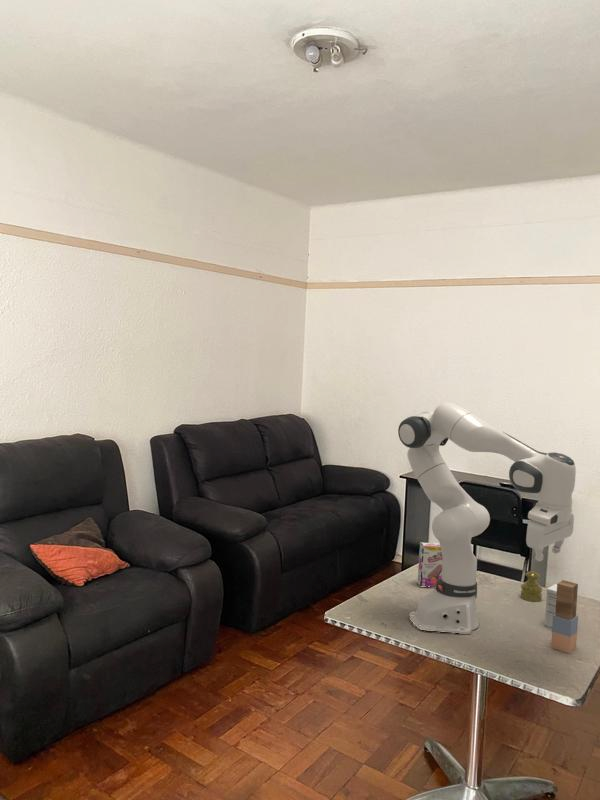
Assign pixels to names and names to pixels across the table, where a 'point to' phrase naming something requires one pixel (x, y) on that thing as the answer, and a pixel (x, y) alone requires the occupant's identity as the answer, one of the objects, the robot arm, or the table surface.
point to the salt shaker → (531, 588)
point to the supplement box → (550, 605)
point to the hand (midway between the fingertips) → (547, 556)
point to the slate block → (565, 625)
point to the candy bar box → (429, 563)
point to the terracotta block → (563, 642)
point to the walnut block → (566, 599)
